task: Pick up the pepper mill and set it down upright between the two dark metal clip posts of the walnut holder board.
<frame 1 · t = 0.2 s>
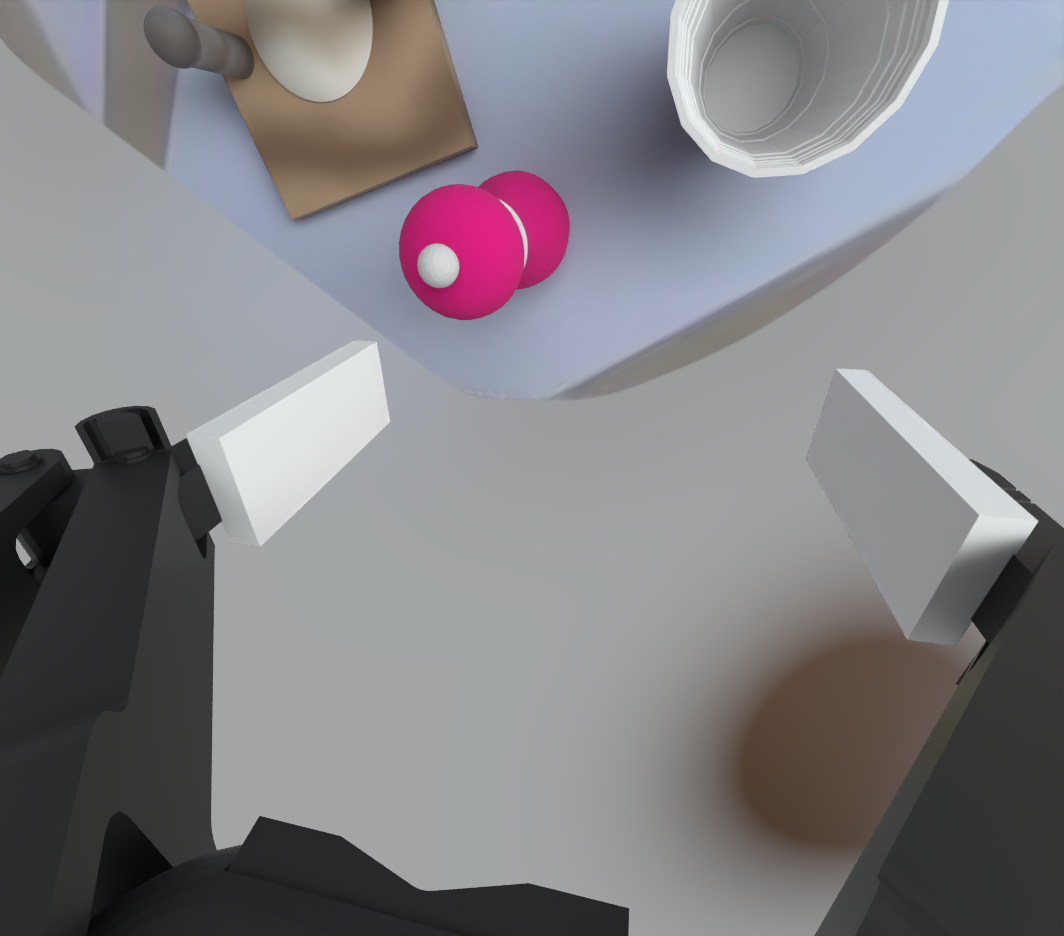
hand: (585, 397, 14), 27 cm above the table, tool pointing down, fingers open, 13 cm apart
plastic cup: (749, 77, 30), on the table
holder: (321, 22, 33), on the table
pepper mill: (529, 226, 37), on the table
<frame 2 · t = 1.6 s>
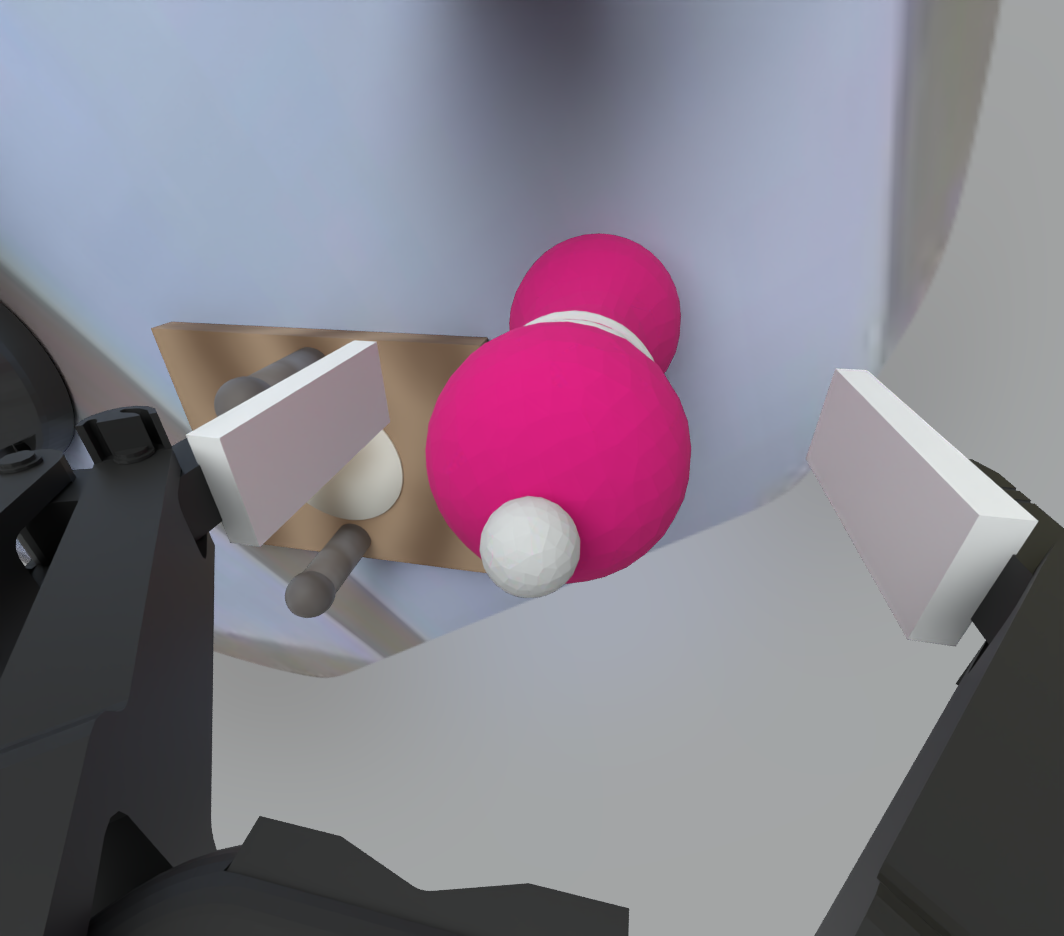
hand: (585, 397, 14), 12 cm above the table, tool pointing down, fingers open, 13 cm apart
holder: (348, 450, 32), on the table
pepper mill: (600, 303, 25), on the table
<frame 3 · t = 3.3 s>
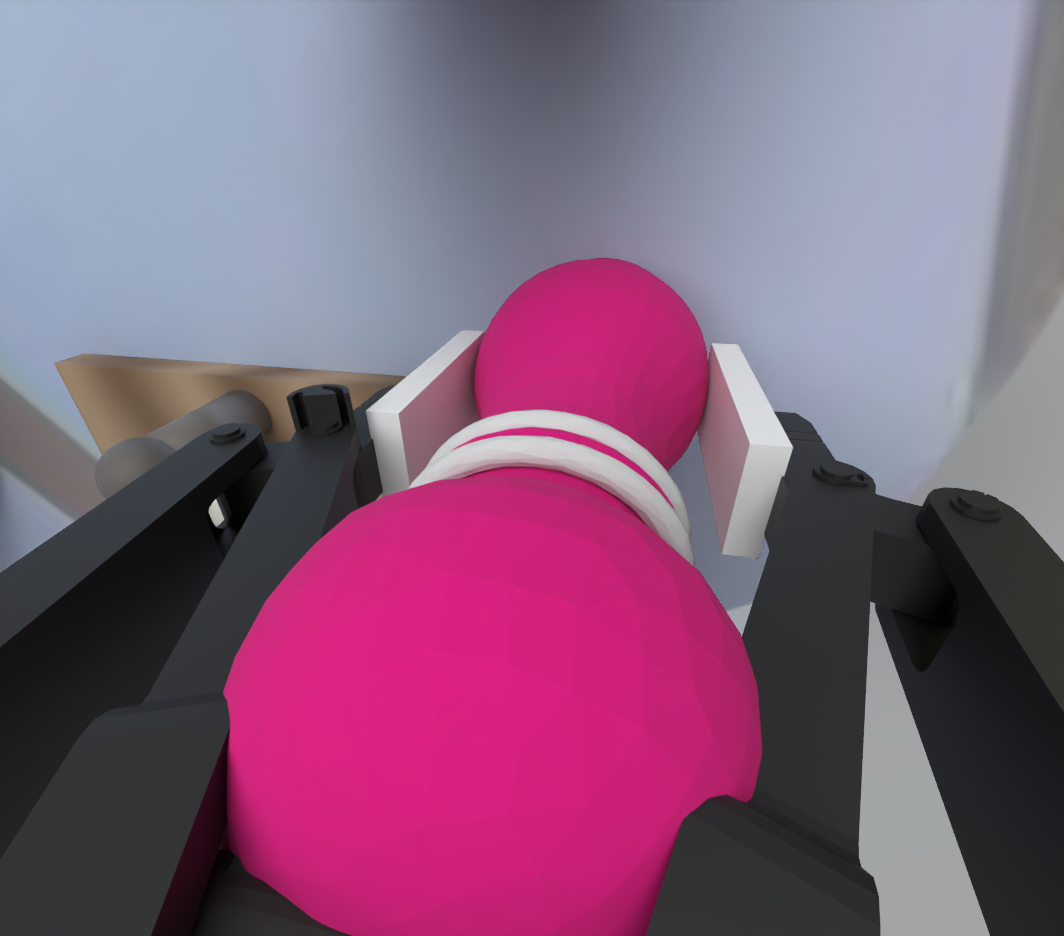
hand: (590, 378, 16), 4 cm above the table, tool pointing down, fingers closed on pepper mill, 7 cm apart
holder: (300, 504, 27), on the table
pepper mill: (600, 341, 19), on the table, touching gripper
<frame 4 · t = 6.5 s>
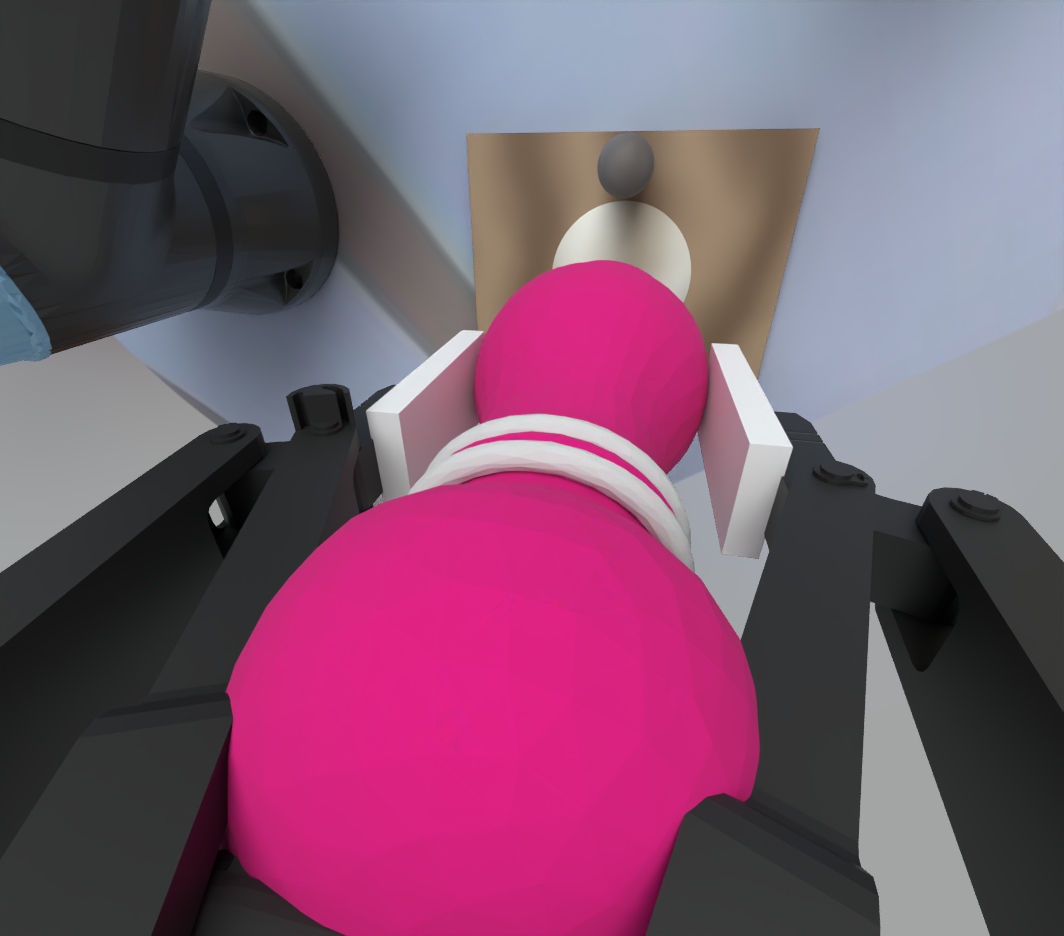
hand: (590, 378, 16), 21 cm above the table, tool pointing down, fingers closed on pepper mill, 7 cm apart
holder: (620, 274, 33), on the table
pepper mill: (600, 342, 19), point 17 cm above the table, touching gripper
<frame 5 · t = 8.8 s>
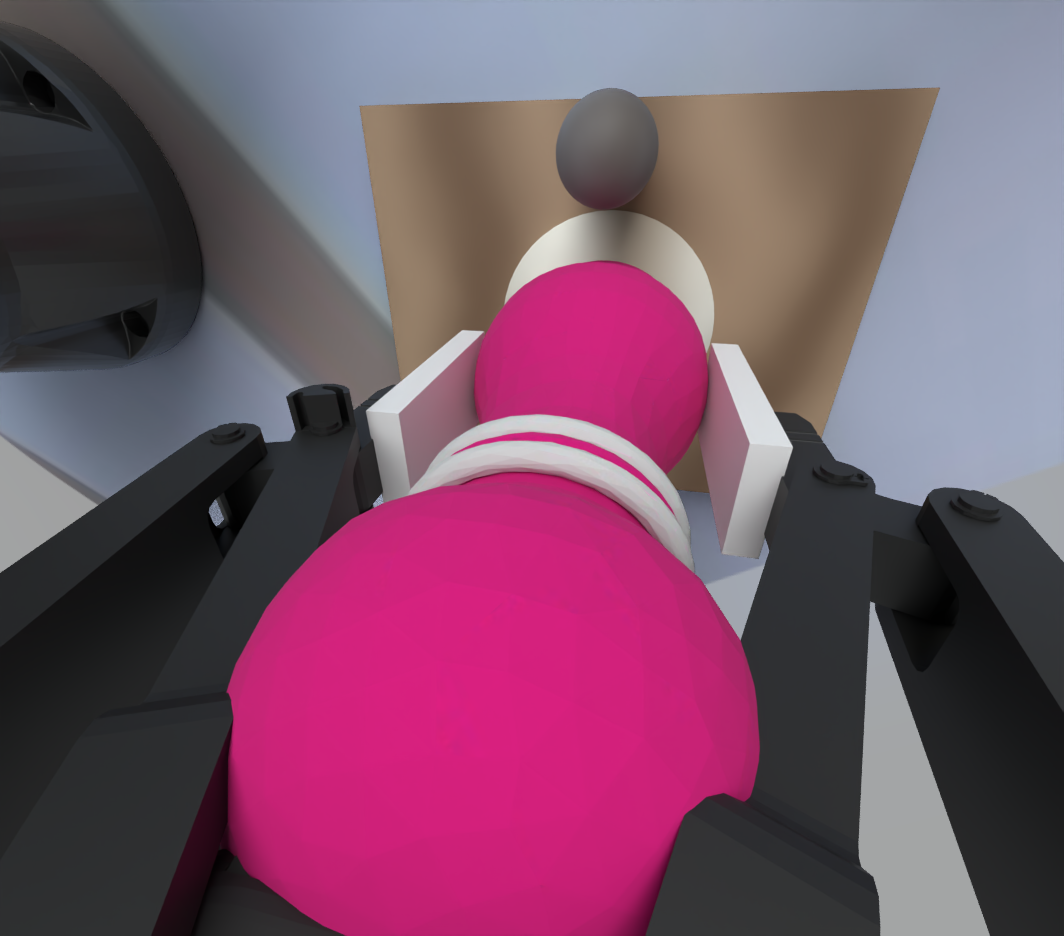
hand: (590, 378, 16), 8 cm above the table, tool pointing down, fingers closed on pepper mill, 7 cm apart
holder: (606, 318, 23), on the table
pepper mill: (600, 343, 19), point 4 cm above the table, touching gripper
when the fingers open (8 cm above the table, at t = 9.7 s): pepper mill drops 2 cm, resting on holder.
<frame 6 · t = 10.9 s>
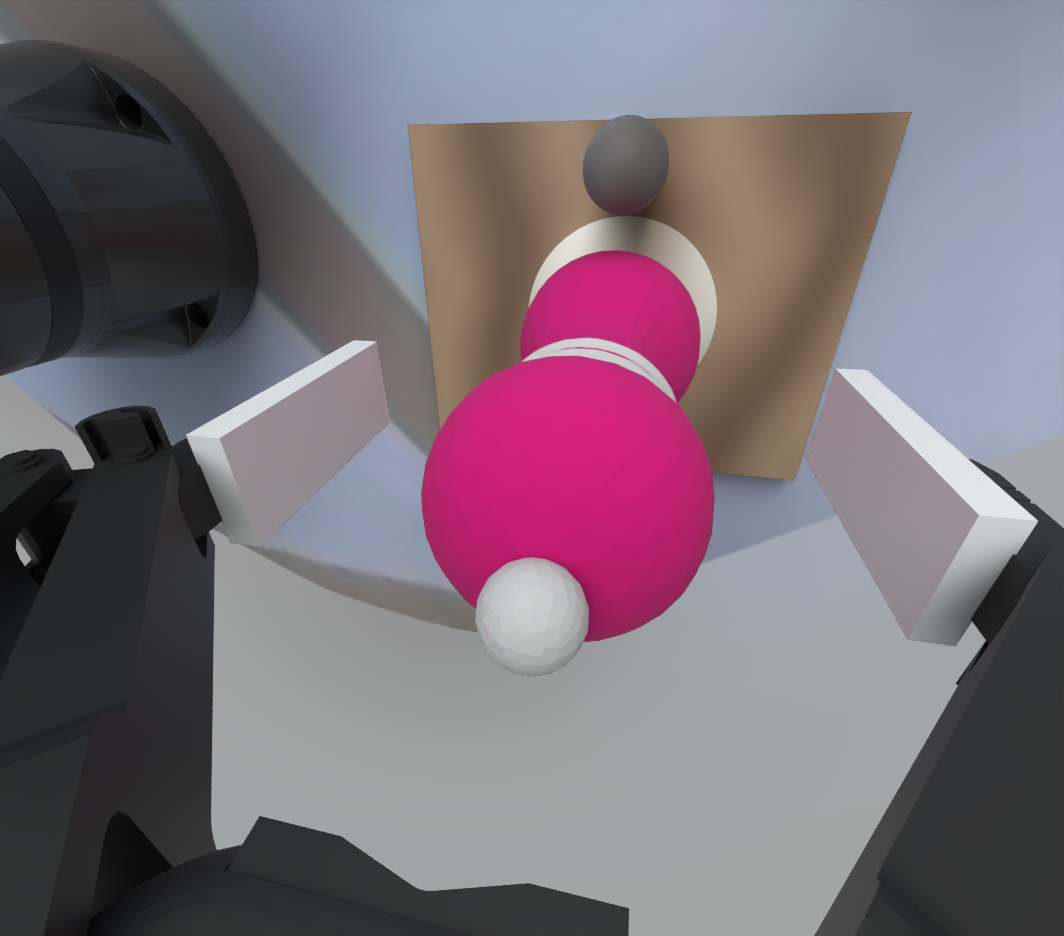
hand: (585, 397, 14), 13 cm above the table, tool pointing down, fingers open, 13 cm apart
holder: (620, 312, 25), on the table
pepper mill: (615, 319, 24), point 2 cm above the table, touching holder
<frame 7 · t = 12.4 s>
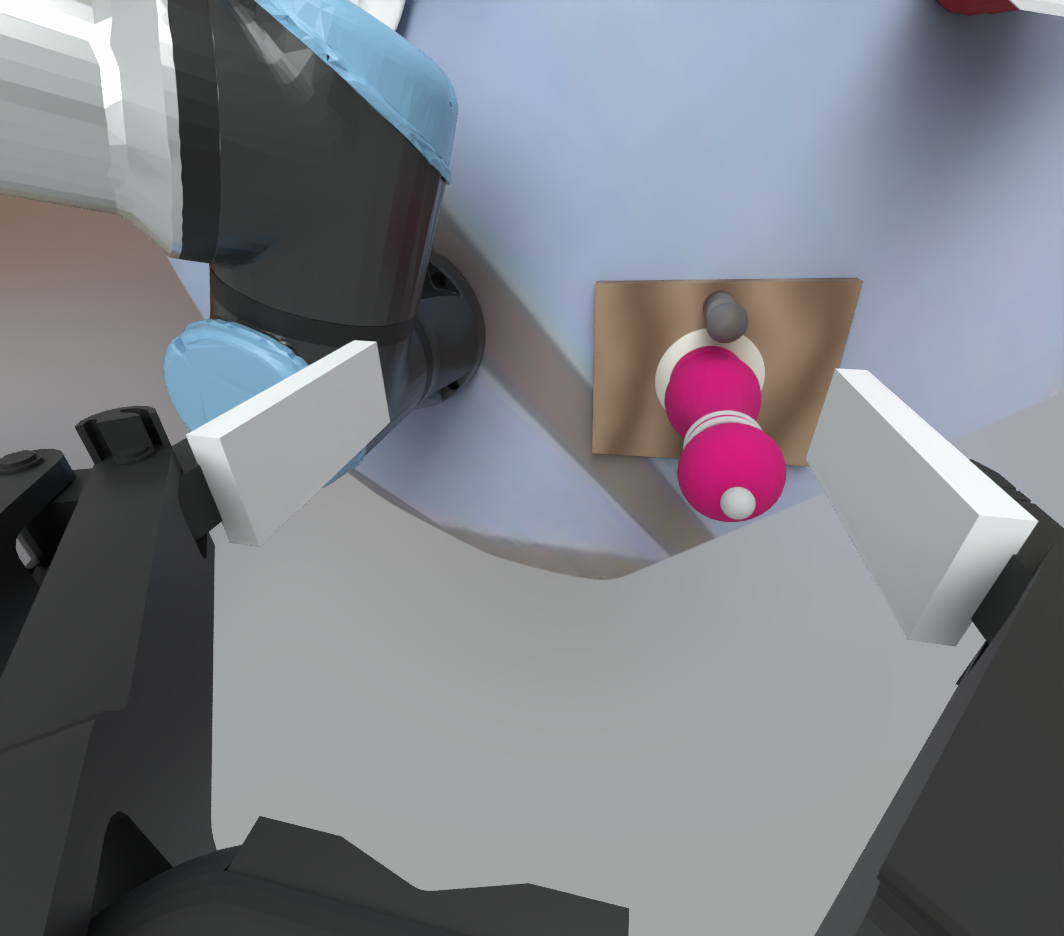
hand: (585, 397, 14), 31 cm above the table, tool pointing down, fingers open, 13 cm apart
holder: (706, 373, 44), on the table
pepper mill: (706, 379, 43), point 2 cm above the table, touching holder
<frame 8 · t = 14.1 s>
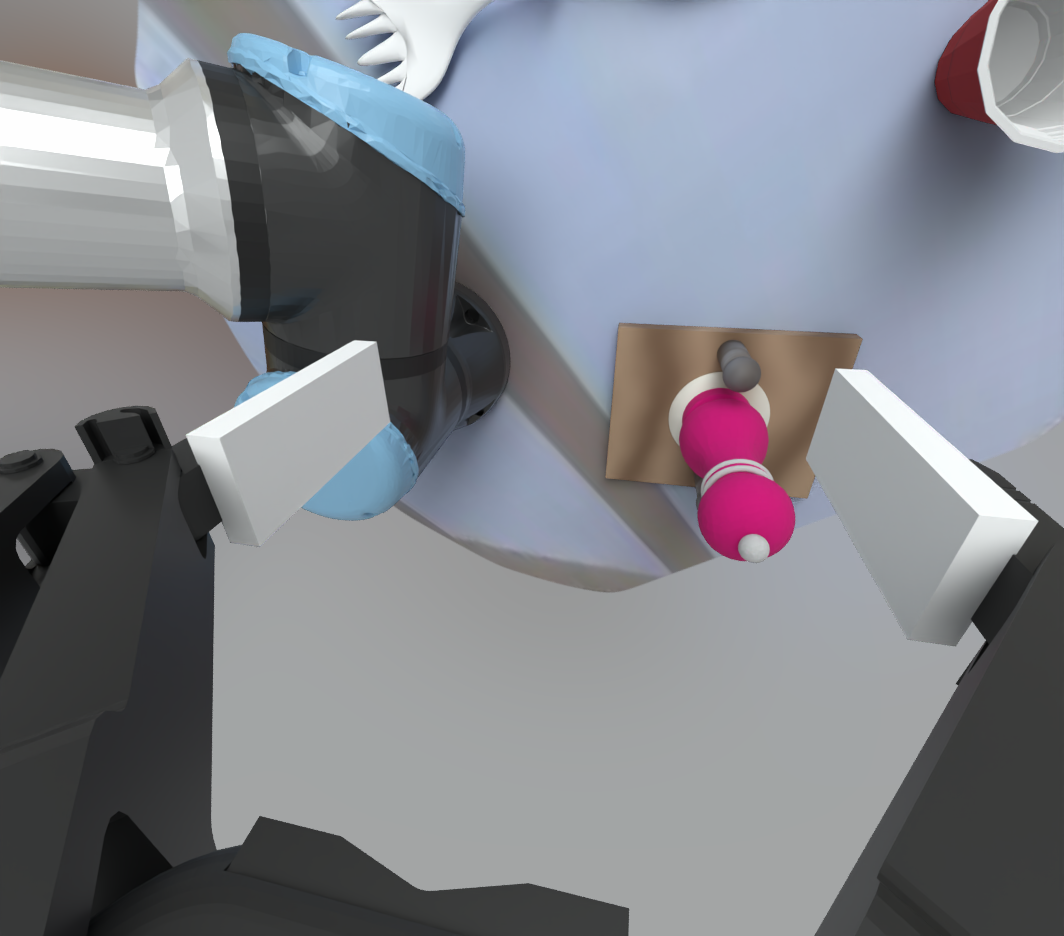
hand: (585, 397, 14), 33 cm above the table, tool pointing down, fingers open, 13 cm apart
plastic cup: (980, 62, 32), on the table
holder: (715, 410, 47), on the table
pepper mill: (716, 417, 46), point 2 cm above the table, touching holder
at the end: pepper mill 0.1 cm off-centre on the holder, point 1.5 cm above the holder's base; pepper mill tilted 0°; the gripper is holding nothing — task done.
